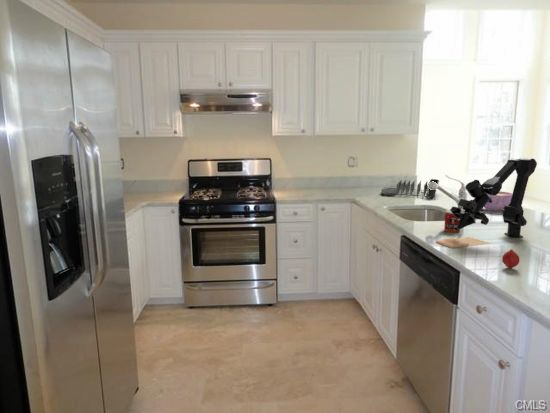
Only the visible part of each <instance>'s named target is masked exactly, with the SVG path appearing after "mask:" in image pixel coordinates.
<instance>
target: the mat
mask: <svg viewBox="0 0 550 413" xmlns="http://www.w3.org/2000/svg"><path fill="white" fill-rule="evenodd" d="M456 239H457V240H460V241H463V242H466V243H469V246H470V247H475V246H481V245H488V244H490V242H487V241H484V240H481V239H478V238H474V237H471V236H469V237H460V238H456ZM469 246H468V247H469Z"/></svg>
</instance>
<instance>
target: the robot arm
mask: <svg viewBox="0 0 550 413" xmlns="http://www.w3.org/2000/svg"><path fill="white" fill-rule="evenodd" d="M537 166H538V162H537V161H536V159H535V158H531V157H530V158H529V157H519V158H509V159H508V160H507V162H506V163H505V164H504V165H503V166H502V167H501V169H500V170H498V172H497V173H495V175H494V176H493V177H491V178H488V179H487V180H485V181H484V182H483V183H482V184H481V181H480V180H478V179H474V180H473V181H470V182H468V183H466V185H465V187H464V188H465V190H466V191H467V192H468V194H469V195H470V197H471V198H473V199H470V200H468V199H463V198H460V199H459V201H458V203H457V205H458V206H460V207H458V206H452V207H451V208H450V209H449V210H450V211H451V212H452V213H453V214H454V216H455V217H457V218H460V219H459V223H458V226H457V228H458V229H460V230H461V229H464V228H465V227H467V226H468V227H469V226H472V225H473V224H476V222H477V220H479V221H480V224H482V225H485V226H487V225H488V223H490V219H489V217H488V216H487V215H486V214H485V213H484V206H485V205H486V204H487V202H488V203H492V200H491V197H489V196H488V195H497V194H498V193H499V191H501V190H502V188H503V184H504V182H505V181H506V180H508V178H509V177H510V176H511V175H512V174H513V173H514V172H516V175H517V176H516V178H515V183H514V188H513V190H512V193H513V194H512V198H511V202H510V204H509V205H508V206H505V207H504V210H502V219H503V223H504V224H507V229H506V230H507V231H506V232H504V235H505V236H507V237H509V238H524V236H523V235H522V234H521V231H522V227H525V226H526V225H527V223H528V220H527V219H526V218H525V216H524V209H523V206H522V205H523V200H524V197H525V194H526V190H527V186H528V182H529V178H530V176H531V175H533V173H534V172H535V170H536V168H537ZM487 194H488V195H487ZM461 207H462V208H461Z"/></svg>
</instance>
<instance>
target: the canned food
mask: <svg viewBox="0 0 550 413" xmlns="http://www.w3.org/2000/svg"><path fill="white" fill-rule="evenodd" d="M444 213H445V214H444V228H443V230H444V232H448V233H460V231H461V229H458V228H457V226H458V223H459V219H460V218H457V217H455V216H454V214H453V213H452V212H451V211H450V209H447V210H445V212H444Z"/></svg>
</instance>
